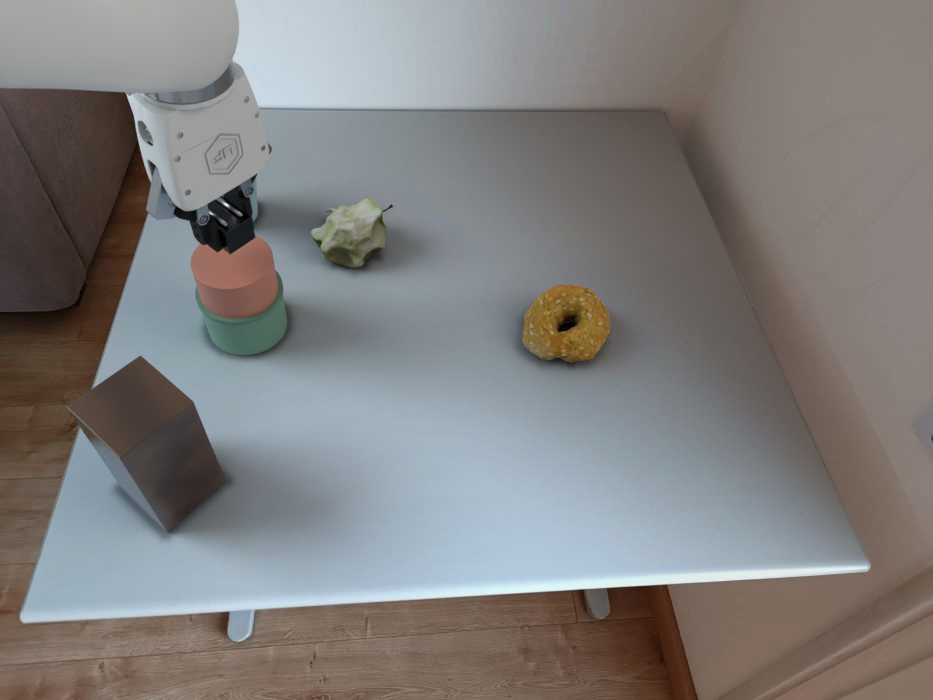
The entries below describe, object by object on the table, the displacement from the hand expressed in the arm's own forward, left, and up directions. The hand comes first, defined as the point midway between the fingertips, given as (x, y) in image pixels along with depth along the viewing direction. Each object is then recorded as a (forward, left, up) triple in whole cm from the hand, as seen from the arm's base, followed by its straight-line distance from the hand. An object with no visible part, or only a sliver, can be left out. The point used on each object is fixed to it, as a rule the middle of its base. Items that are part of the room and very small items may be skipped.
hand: (225, 232), depth 71 cm
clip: (0, 0, 0) cm, 0 cm away
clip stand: (-18, -10, -15) cm, 25 cm away
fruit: (+17, 0, -15) cm, 22 cm away
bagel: (+24, -28, -15) cm, 40 cm away
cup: (+11, +15, -15) cm, 24 cm away
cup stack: (0, 0, -15) cm, 15 cm away
